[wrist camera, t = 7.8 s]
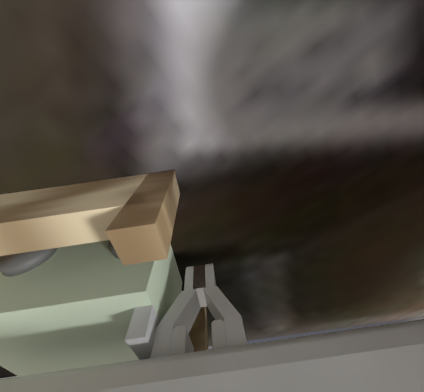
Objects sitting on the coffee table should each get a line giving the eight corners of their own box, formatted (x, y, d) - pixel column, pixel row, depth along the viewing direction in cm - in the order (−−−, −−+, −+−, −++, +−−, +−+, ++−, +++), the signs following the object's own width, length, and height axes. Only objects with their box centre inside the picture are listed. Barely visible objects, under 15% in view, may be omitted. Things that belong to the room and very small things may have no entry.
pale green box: (162, 217, 11) (131, 313, 6) (183, 286, 14) (176, 387, 9) (21, 237, 11) (-139, 355, 6) (77, 303, 14) (8, 414, 9)
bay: (174, 169, 9) (155, 223, 5) (206, 303, 16) (209, 381, 11) (-42, 200, 9) (-260, 284, 5) (75, 324, 15) (26, 411, 11)
